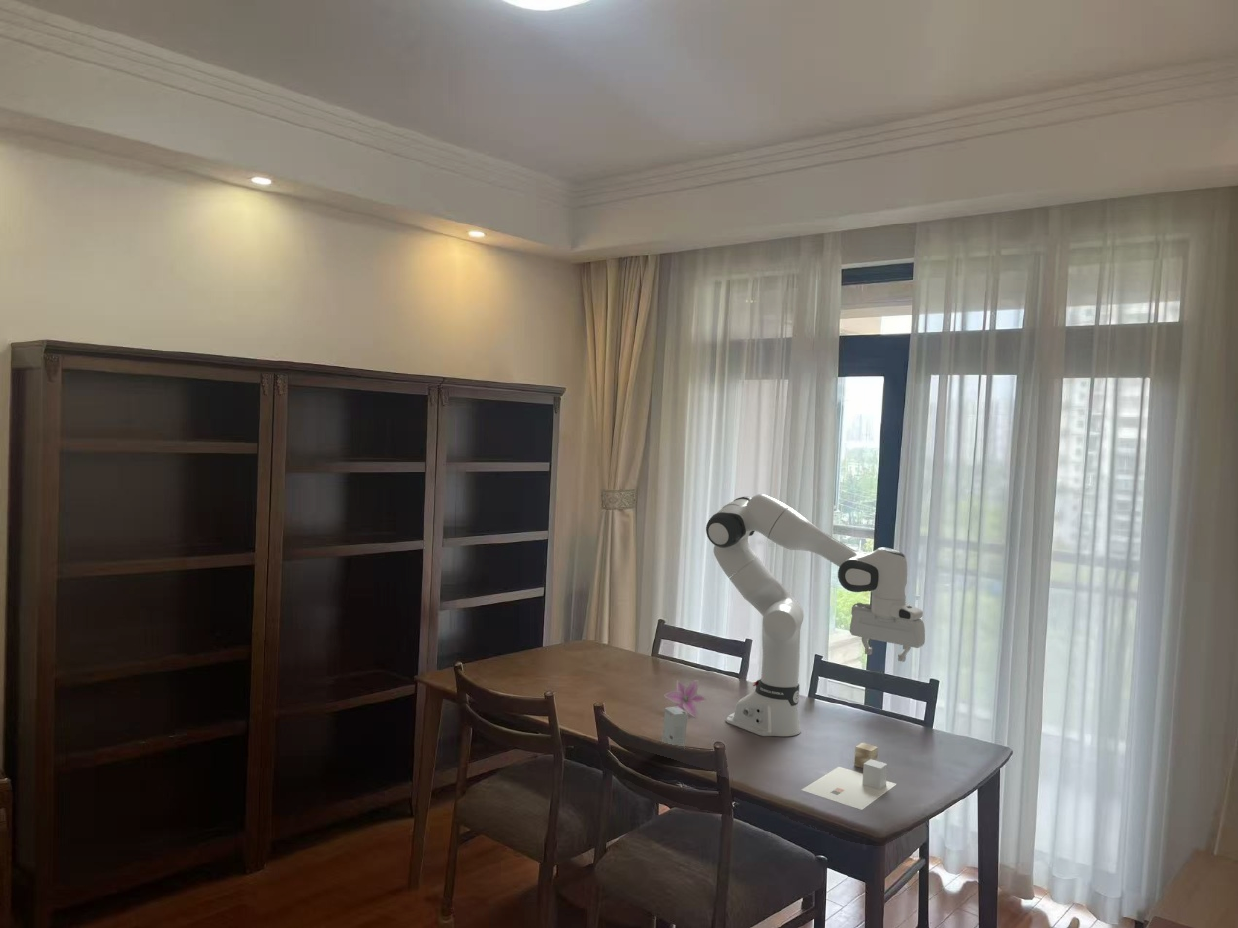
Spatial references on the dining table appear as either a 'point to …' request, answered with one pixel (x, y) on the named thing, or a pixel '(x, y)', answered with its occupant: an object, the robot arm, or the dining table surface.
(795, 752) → the dining table surface
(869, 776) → the grey block
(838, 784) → the cream flat sheet
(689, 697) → the lily
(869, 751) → the birch block
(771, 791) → the dining table surface
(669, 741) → the skincare box
